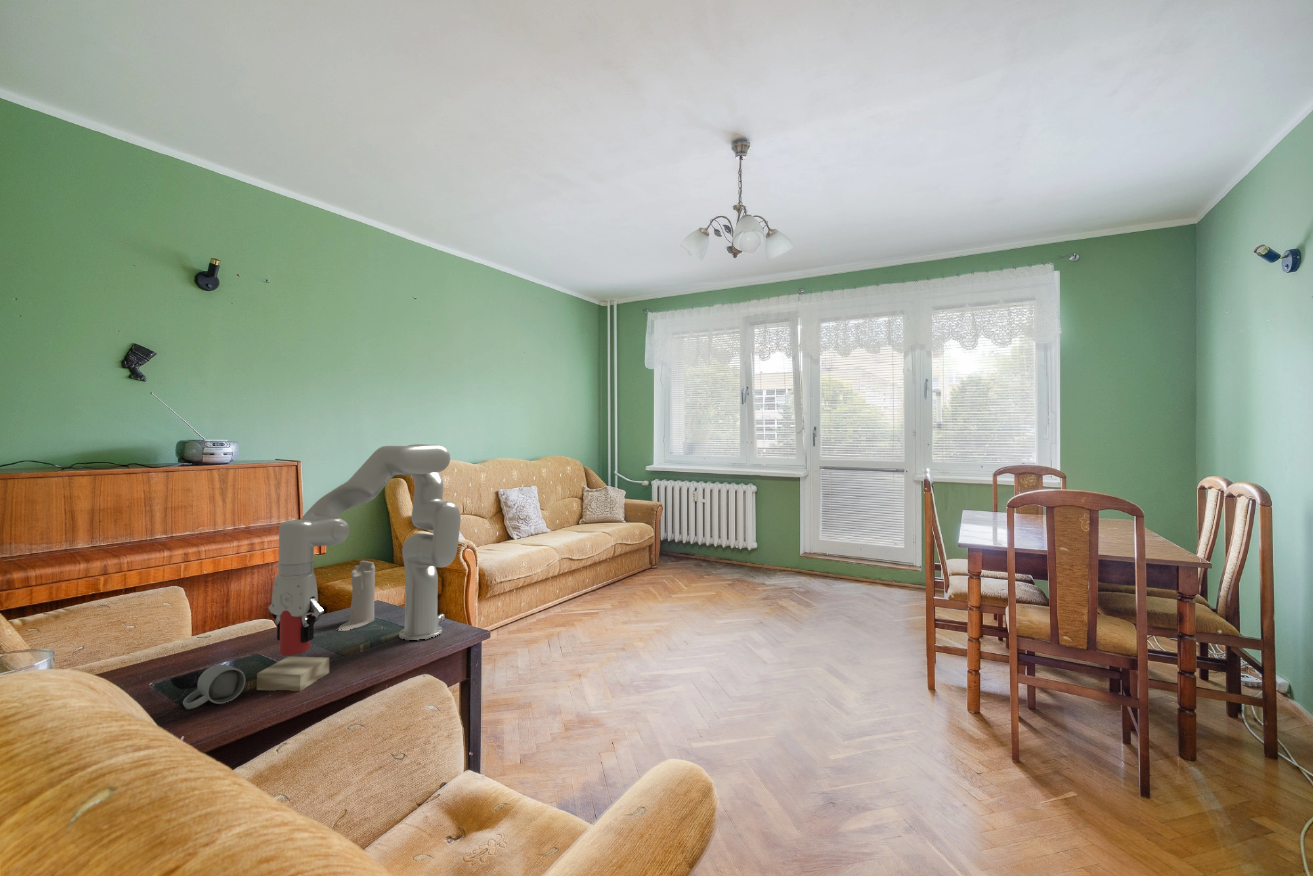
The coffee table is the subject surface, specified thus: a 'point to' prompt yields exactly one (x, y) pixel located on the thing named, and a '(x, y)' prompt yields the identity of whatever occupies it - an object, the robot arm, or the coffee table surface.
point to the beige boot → (361, 596)
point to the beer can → (291, 635)
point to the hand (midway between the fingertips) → (295, 639)
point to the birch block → (293, 673)
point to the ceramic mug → (217, 686)
